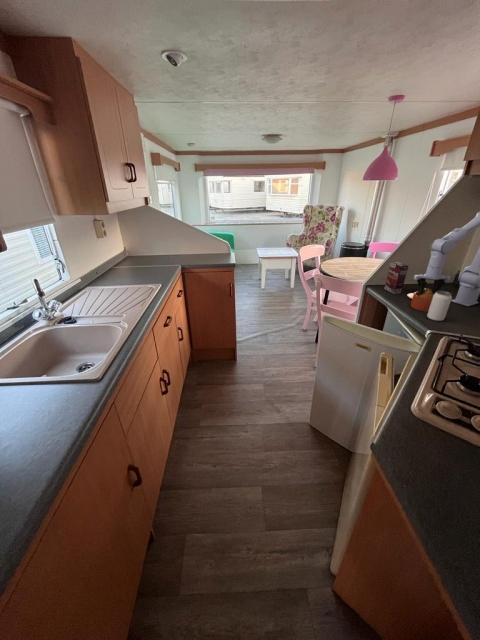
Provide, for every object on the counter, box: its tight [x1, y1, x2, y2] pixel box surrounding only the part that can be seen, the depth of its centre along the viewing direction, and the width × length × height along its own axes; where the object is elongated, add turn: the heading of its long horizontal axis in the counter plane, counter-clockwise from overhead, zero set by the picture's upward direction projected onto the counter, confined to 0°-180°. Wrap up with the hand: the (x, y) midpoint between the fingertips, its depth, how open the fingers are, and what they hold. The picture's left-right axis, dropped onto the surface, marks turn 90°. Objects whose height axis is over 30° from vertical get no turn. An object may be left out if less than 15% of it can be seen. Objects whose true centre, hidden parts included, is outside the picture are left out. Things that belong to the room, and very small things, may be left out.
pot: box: [410, 291, 434, 313], centre depth 129 cm, size 10×10×6 cm
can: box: [426, 290, 453, 322], centre depth 116 cm, size 6×6×12 cm
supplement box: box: [383, 261, 409, 295], centre depth 147 cm, size 9×5×16 cm, turn 10°
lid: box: [407, 290, 419, 300], centre depth 139 cm, size 11×11×5 cm
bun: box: [420, 288, 433, 299], centre depth 127 cm, size 5×5×4 cm
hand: (426, 294), depth 127 cm, fingers closed on bun, 5 cm apart
